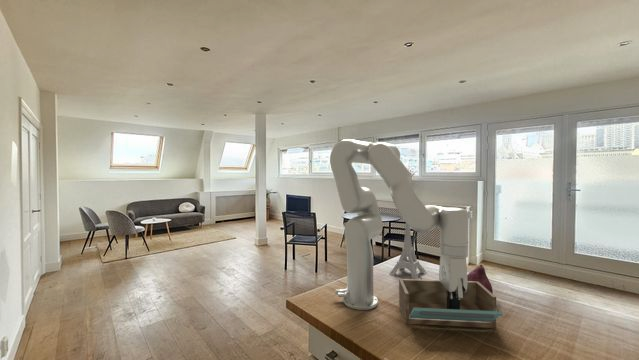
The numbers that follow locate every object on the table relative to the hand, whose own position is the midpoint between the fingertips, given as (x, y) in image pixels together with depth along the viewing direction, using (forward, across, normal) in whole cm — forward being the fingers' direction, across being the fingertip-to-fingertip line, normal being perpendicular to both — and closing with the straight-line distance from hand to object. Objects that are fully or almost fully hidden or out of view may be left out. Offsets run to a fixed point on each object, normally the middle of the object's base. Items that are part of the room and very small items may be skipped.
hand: (453, 310), depth 81 cm
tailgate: (+4, -3, 0) cm, 5 cm away
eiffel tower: (+7, -47, -3) cm, 47 cm away
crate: (+6, -9, 0) cm, 11 cm away
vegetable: (+6, -24, +18) cm, 30 cm away
